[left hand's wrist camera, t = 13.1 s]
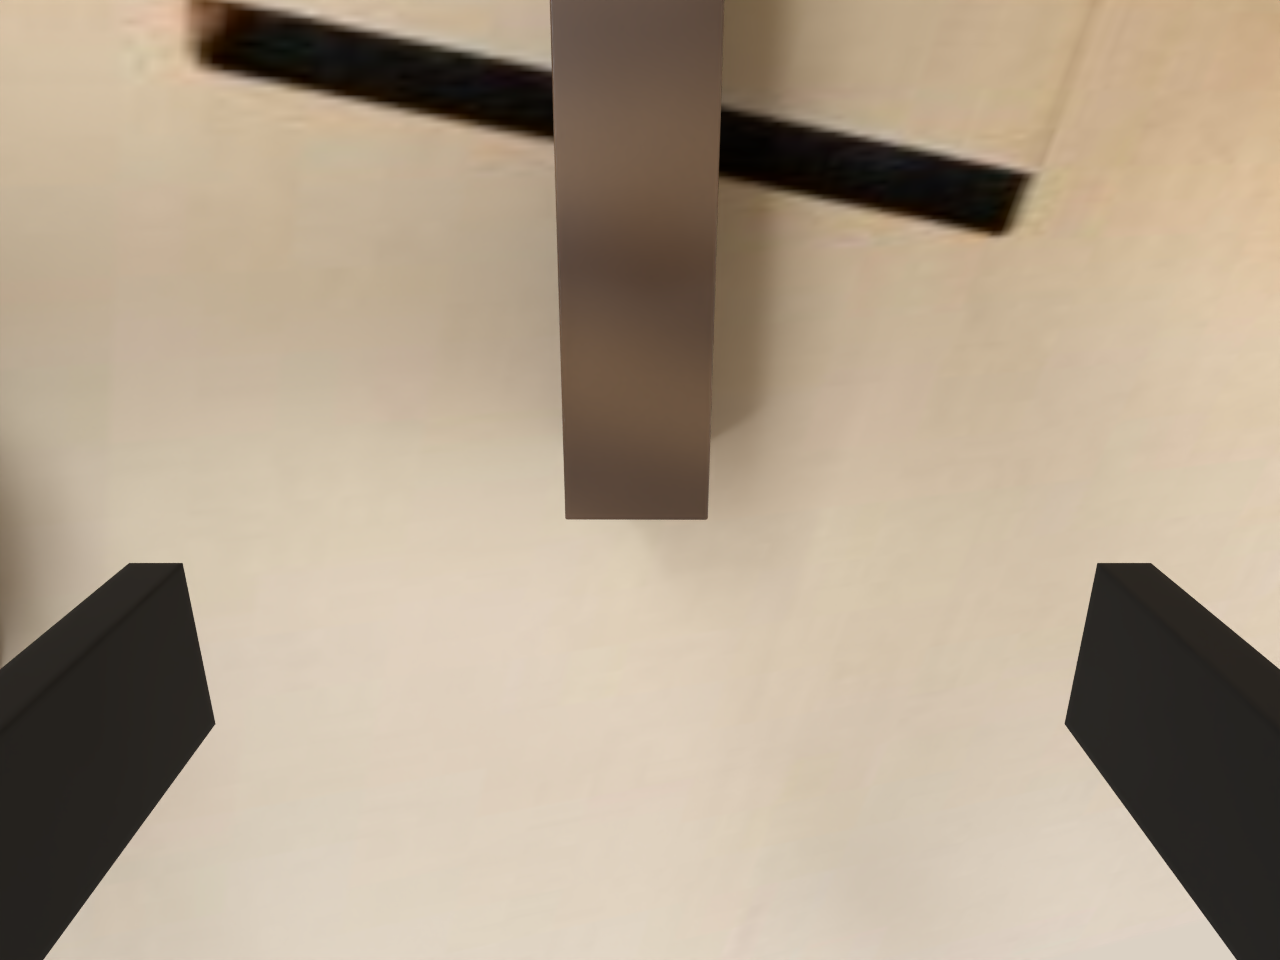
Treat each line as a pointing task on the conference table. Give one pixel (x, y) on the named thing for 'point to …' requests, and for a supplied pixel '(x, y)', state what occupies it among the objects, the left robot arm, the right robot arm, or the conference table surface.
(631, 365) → the beam
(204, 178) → the conference table surface
